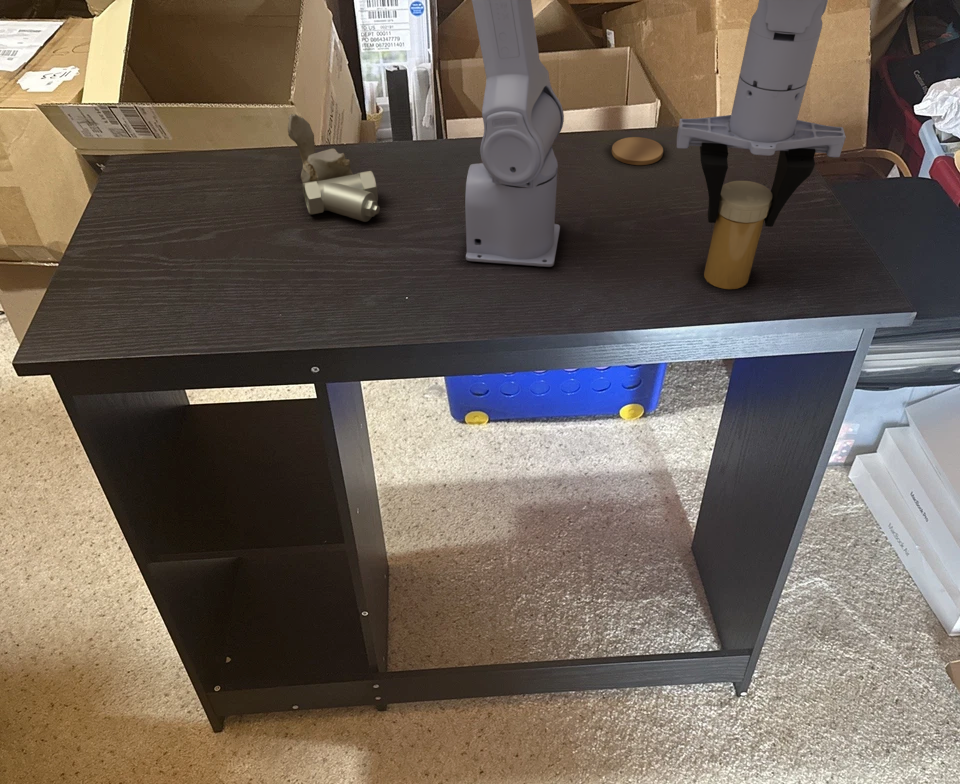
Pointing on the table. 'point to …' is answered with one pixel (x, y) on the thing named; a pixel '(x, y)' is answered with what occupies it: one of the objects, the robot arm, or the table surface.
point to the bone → (316, 154)
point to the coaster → (637, 151)
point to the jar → (732, 252)
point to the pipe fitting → (344, 196)
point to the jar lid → (745, 201)
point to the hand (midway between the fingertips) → (739, 219)
